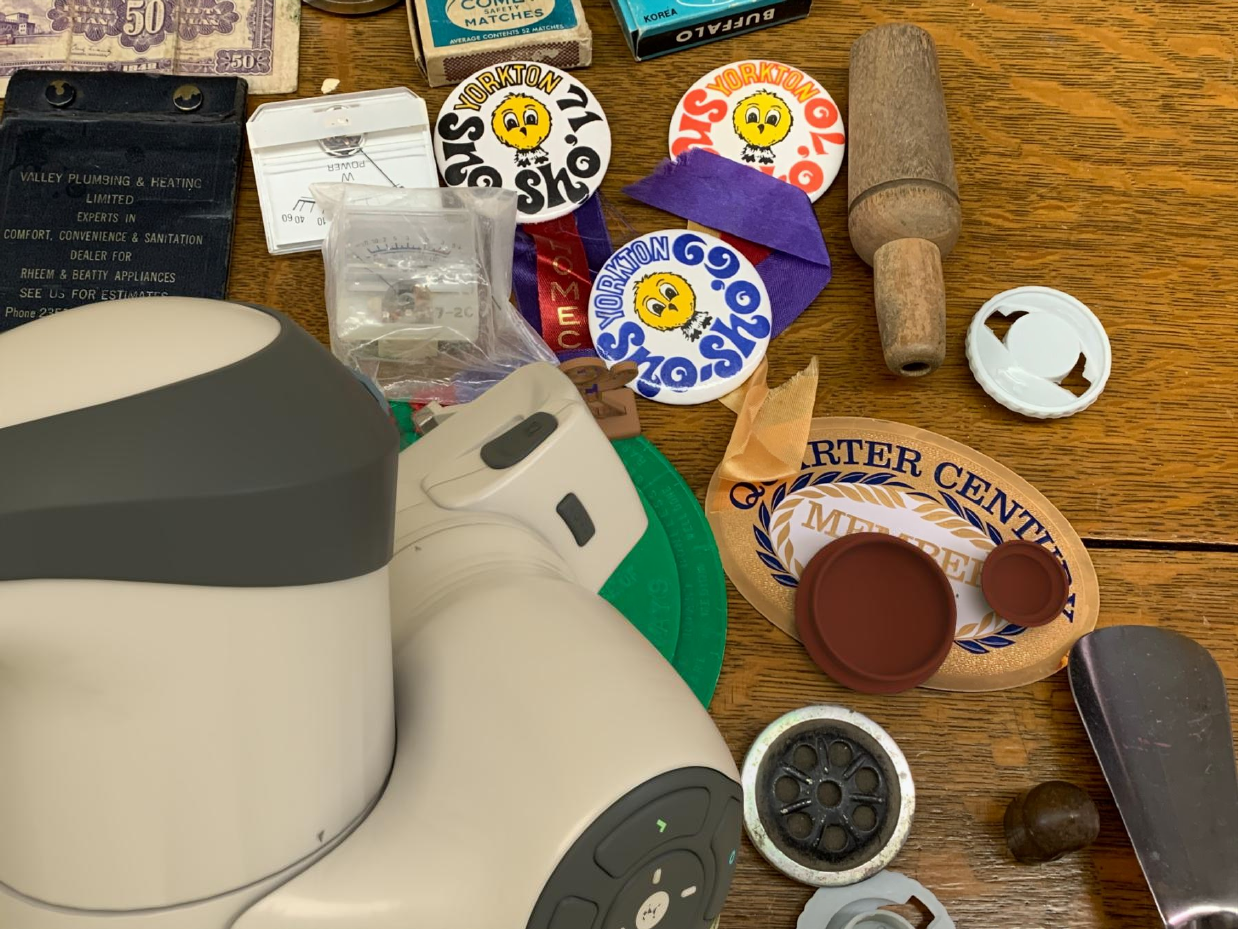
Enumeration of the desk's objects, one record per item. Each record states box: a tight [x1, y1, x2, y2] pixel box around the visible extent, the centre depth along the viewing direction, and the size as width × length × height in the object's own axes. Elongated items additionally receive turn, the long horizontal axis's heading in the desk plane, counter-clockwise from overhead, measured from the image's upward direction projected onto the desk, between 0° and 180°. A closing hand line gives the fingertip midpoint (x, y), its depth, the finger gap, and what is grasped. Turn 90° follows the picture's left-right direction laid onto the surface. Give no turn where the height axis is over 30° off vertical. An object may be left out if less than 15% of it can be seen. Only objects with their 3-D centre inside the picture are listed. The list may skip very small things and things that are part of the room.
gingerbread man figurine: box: [556, 356, 642, 442], centre depth 69 cm, size 9×4×12 cm, turn 101°
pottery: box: [794, 531, 1070, 696], centre depth 69 cm, size 12×20×4 cm, turn 100°
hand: (349, 476), depth 46 cm, fingers open, 8 cm apart
